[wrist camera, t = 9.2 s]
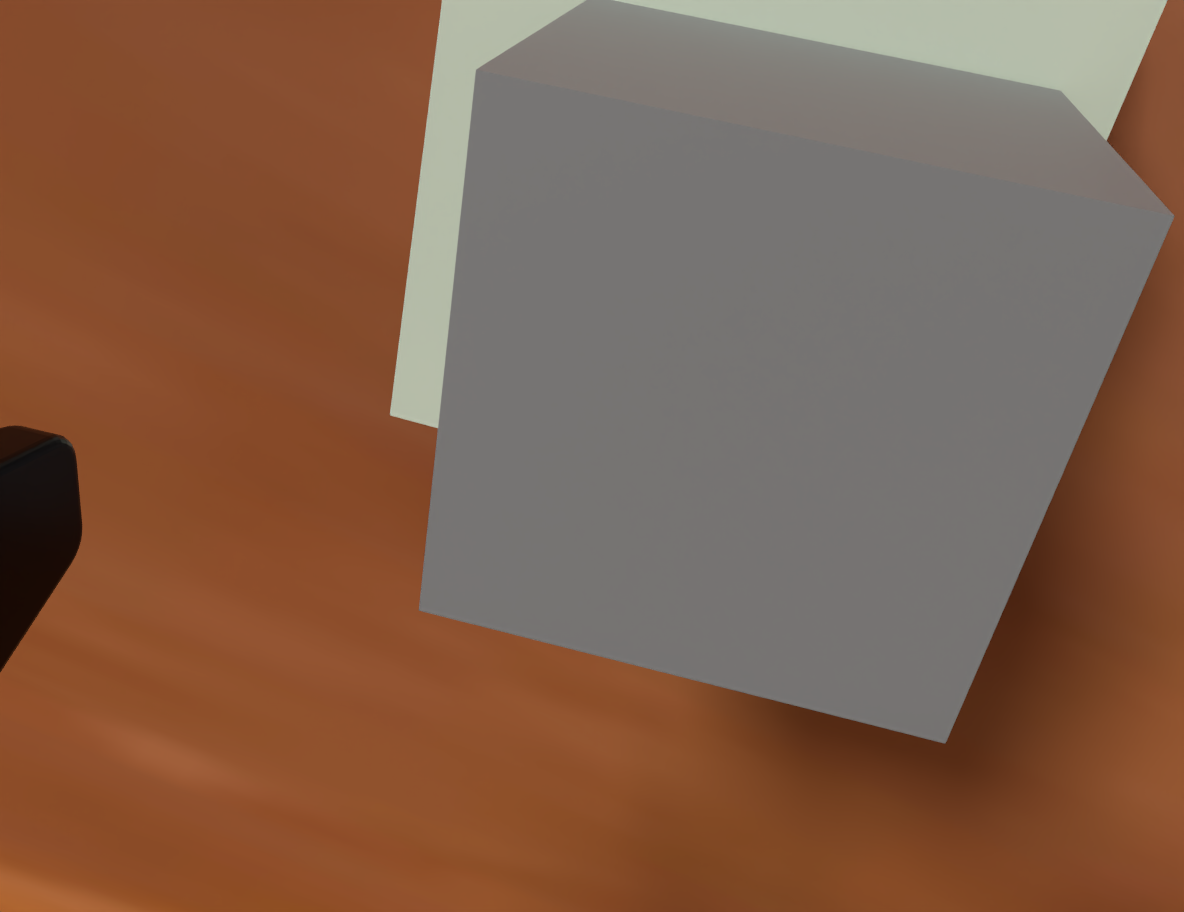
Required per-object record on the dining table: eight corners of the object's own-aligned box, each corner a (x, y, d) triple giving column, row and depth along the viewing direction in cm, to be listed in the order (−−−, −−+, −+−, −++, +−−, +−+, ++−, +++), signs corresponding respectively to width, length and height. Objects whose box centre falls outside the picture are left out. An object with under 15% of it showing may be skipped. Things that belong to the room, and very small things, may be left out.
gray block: (1061, 90, 13) (1173, 216, 9) (915, 494, 16) (945, 744, 11) (592, -5, 13) (475, 70, 9) (530, 404, 16) (418, 610, 12)
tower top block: (1120, -57, 15) (1182, -36, 12) (911, 461, 19) (924, 560, 16) (529, -197, 15) (468, -204, 13) (449, 338, 19) (389, 415, 17)
